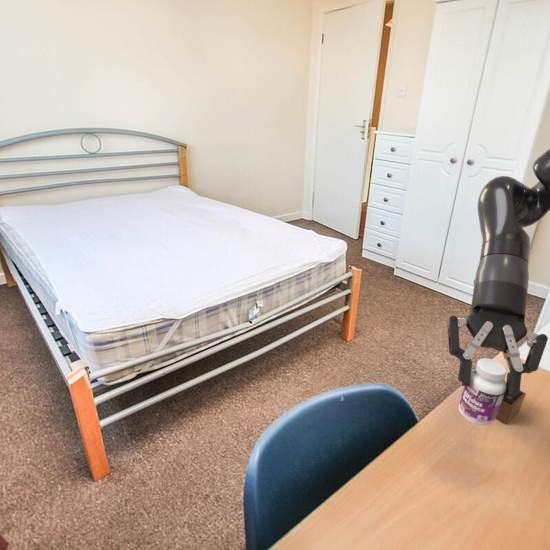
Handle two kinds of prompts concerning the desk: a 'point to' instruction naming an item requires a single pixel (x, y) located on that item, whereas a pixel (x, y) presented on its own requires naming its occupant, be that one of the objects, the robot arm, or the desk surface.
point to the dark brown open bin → (510, 407)
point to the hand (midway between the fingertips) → (487, 391)
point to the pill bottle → (484, 392)
